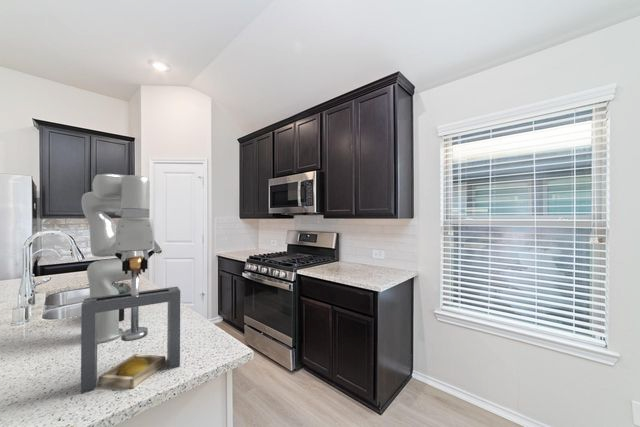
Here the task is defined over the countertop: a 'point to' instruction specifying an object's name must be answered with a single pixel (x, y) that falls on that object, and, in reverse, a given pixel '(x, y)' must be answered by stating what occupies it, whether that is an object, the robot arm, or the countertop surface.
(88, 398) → the countertop surface
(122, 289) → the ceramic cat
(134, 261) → the plunger
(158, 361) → the cradle
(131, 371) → the bread roll
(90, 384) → the frame
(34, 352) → the countertop surface
